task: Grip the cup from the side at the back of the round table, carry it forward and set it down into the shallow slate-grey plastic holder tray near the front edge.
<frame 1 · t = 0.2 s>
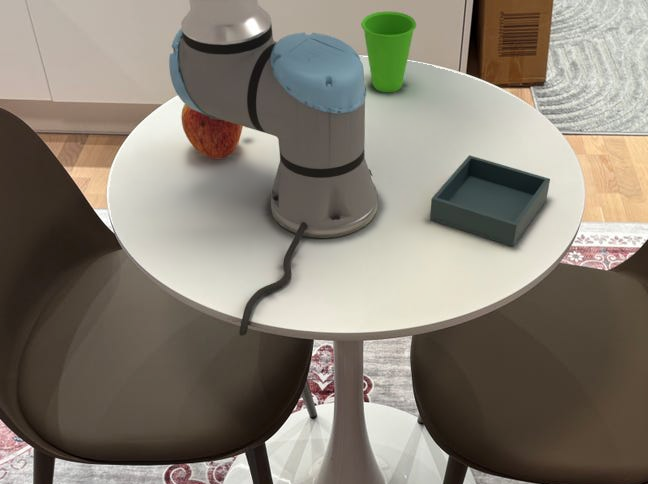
apple: (217, 154, 132), on the table
holder: (489, 209, 121), on the table
cup: (387, 86, 147), on the table
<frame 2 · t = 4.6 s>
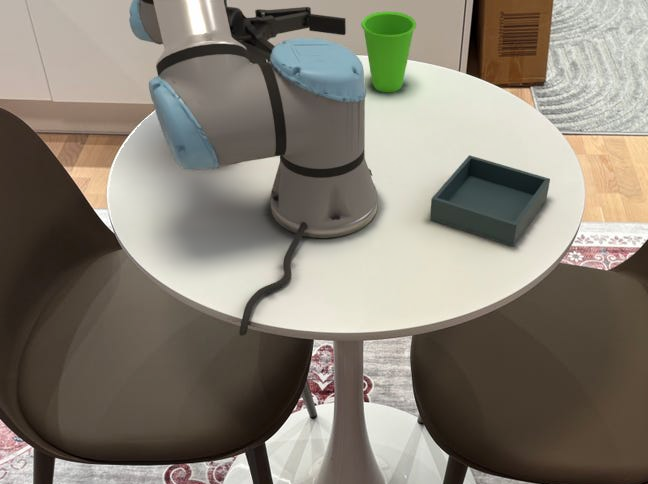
hand: (333, 43, 144), 6 cm above the table, tool horizontal, fingers open, 13 cm apart
nothing on the table moved.
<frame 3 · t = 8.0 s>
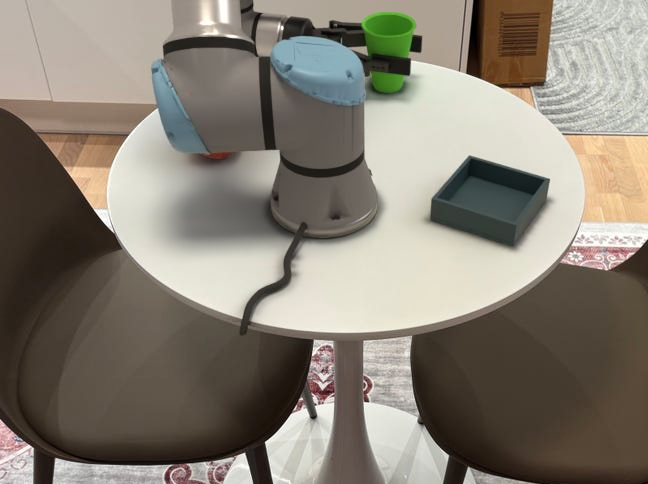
hand: (415, 55, 142), 6 cm above the table, tool horizontal, fingers closed on cup, 8 cm apart
cup: (387, 87, 147), on the table, touching gripper
everything else where it was.
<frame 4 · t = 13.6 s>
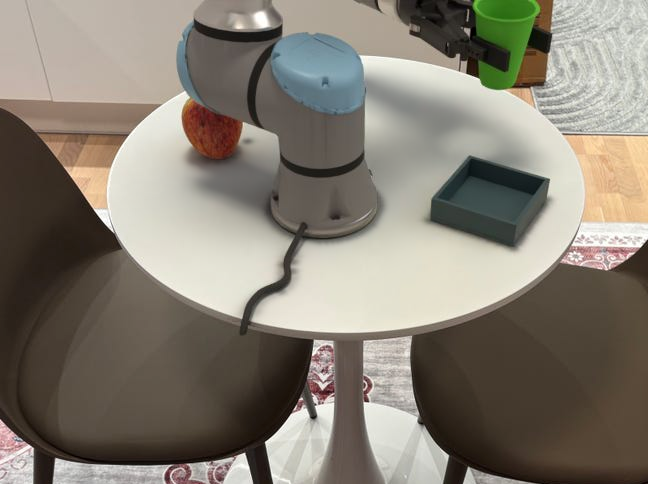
hand: (528, 52, 115), 18 cm above the table, tool horizontal, fingers closed on cup, 8 cm apart
cup: (497, 83, 122), point 12 cm above the table, touching gripper
everything else where it was.
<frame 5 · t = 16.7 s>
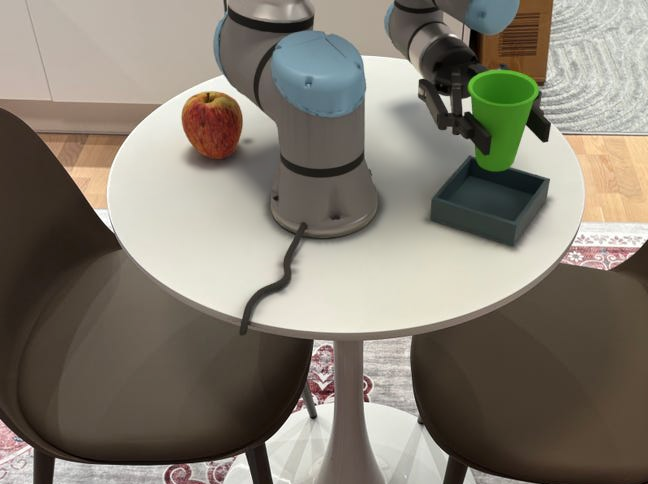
hand: (517, 139, 108), 14 cm above the table, tool horizontal, fingers closed on cup, 8 cm apart
cup: (494, 162, 116), point 8 cm above the table, touching gripper
everything else where it was.
when the fingers open (6 cm above the table, at t = 19.2 s): cup stays where it is, resting on holder.
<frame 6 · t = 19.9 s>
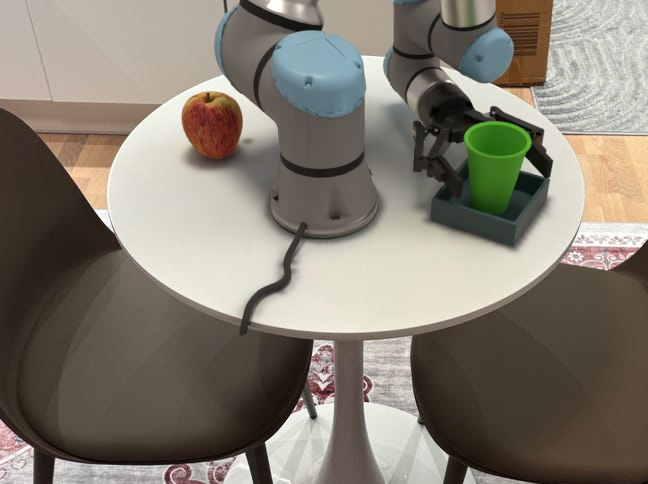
hand: (505, 179, 114), 7 cm above the table, tool horizontal, fingers open, 13 cm apart
cup: (488, 207, 121), resting on holder
everything else where it was.
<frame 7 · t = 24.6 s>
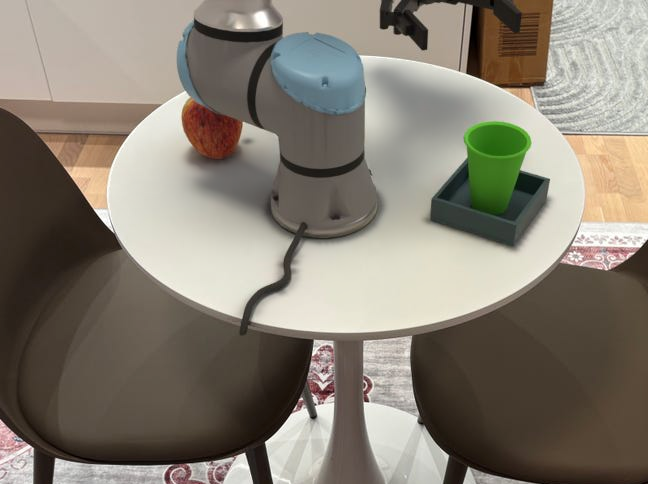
hand: (472, 31, 112), 22 cm above the table, tool horizontal, fingers open, 13 cm apart
nothing on the table moved.
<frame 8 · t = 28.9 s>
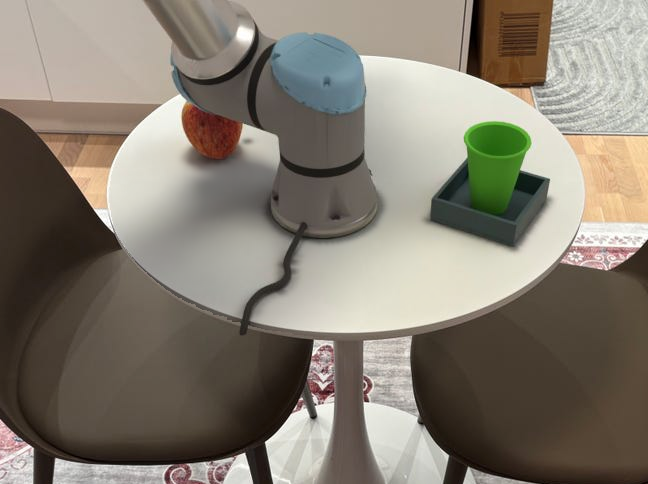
nothing on the table moved.
at the end: cup 0.2 cm off-centre in the holder, point 0.4 cm above the holder's base; cup tilted 0°; the gripper is holding nothing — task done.
